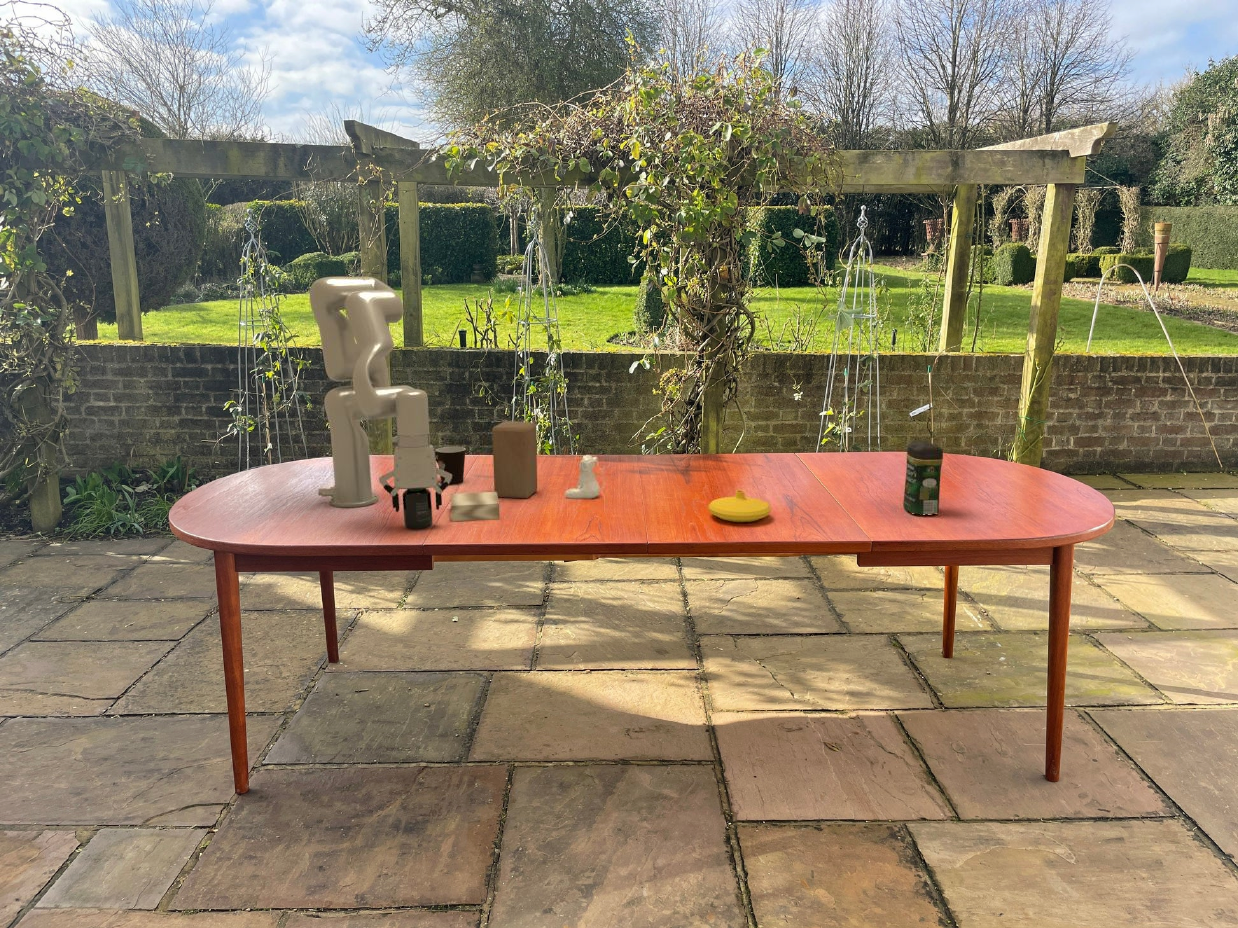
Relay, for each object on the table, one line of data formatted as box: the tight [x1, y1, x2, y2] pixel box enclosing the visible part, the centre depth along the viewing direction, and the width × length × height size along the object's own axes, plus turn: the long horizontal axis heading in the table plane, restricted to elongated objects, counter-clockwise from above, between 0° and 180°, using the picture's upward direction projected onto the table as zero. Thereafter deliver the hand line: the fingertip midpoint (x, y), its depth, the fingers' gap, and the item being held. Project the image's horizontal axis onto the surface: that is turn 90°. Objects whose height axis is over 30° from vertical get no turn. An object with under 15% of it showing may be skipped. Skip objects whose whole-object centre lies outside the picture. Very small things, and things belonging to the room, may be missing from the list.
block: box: [492, 420, 538, 499], centre depth 240 cm, size 10×10×20 cm
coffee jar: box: [902, 440, 944, 516], centre depth 221 cm, size 10×8×19 cm
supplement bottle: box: [402, 488, 433, 531], centre depth 210 cm, size 7×7×12 cm
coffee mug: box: [434, 446, 467, 486], centre depth 256 cm, size 12×9×10 cm
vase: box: [708, 490, 772, 523], centre depth 218 cm, size 16×16×7 cm
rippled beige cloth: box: [450, 491, 501, 522], centre depth 222 cm, size 12×12×4 cm
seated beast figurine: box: [565, 454, 601, 500], centre depth 238 cm, size 10×9×12 cm
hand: (417, 509), depth 210 cm, fingers open, 9 cm apart
